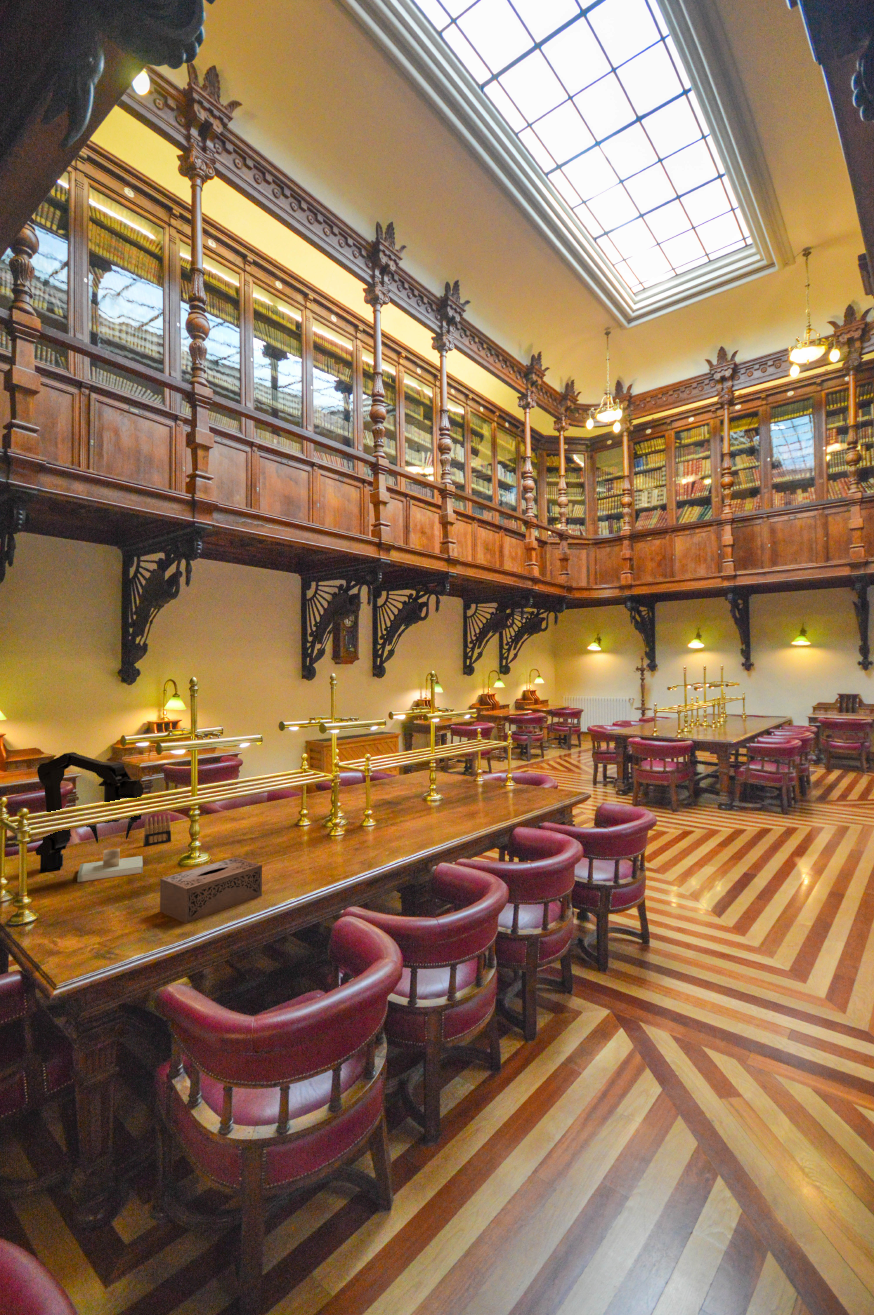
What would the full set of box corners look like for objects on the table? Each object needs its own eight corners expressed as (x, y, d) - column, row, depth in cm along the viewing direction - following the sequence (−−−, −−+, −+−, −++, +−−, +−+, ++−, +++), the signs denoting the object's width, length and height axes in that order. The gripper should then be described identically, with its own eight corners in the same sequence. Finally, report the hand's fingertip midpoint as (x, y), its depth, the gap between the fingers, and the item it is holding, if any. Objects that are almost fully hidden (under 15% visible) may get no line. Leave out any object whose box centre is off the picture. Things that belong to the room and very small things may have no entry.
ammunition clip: (144, 847, 238) (145, 818, 239) (143, 846, 240) (143, 817, 240) (171, 842, 246) (171, 814, 246) (169, 841, 247) (170, 813, 248)
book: (77, 882, 196) (77, 875, 196) (80, 871, 208) (80, 863, 208) (142, 873, 205) (142, 866, 206) (142, 862, 218) (142, 855, 218)
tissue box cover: (235, 887, 191) (235, 857, 192) (261, 896, 183) (262, 865, 183) (159, 912, 170) (160, 878, 171) (185, 924, 162) (186, 888, 162)
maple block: (103, 868, 204) (103, 854, 204) (103, 864, 208) (104, 850, 208) (119, 866, 206) (119, 852, 206) (119, 862, 210) (119, 848, 211)
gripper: (81, 805, 197) (80, 850, 196) (141, 799, 205) (141, 843, 205) (83, 799, 207) (82, 842, 206) (141, 794, 215) (140, 835, 215)
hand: (112, 841), depth 207 cm, fingers open, 9 cm apart
